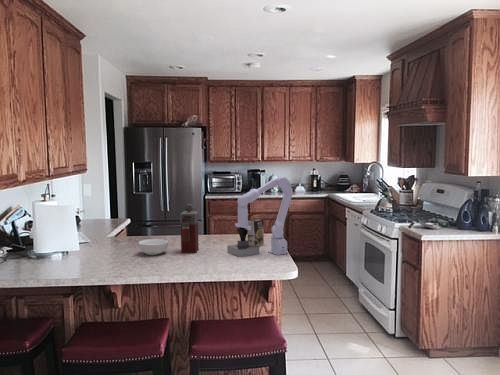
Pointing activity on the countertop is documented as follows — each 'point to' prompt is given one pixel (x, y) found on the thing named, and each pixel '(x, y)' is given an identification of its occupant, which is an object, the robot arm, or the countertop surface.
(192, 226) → the glass bottle
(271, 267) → the countertop surface
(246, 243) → the plug
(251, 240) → the coffee box
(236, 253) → the socket plate
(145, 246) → the cereal bowl
